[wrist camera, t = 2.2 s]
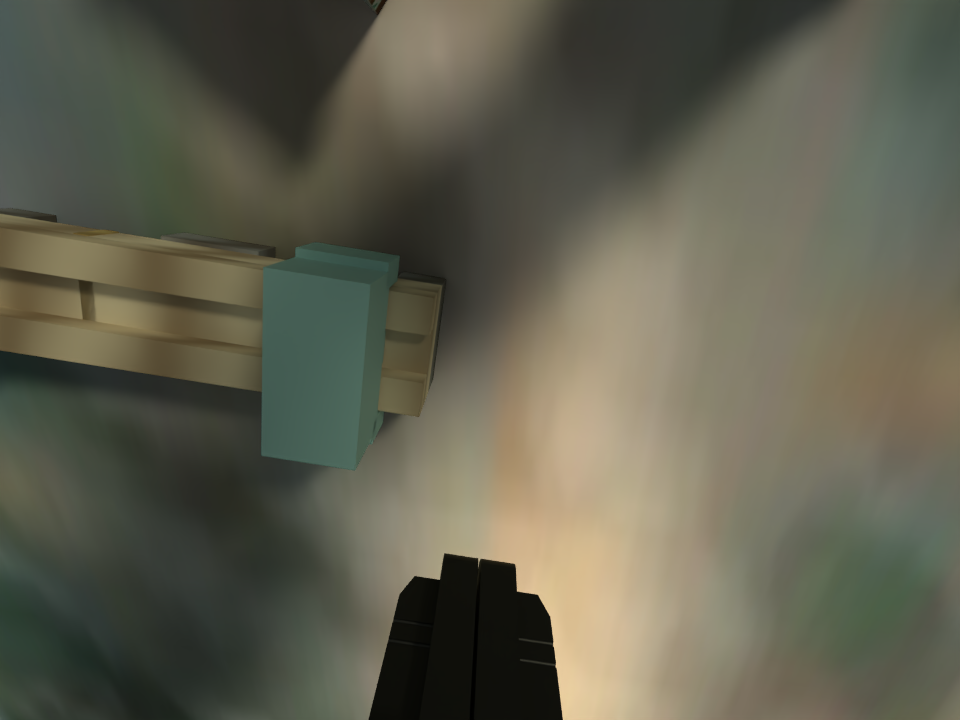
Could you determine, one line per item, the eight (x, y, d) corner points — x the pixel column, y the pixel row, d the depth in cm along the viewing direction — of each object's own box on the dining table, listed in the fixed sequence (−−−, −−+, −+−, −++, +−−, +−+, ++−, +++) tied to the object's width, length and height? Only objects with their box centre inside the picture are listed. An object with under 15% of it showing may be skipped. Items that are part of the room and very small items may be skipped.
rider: (399, 255, 23) (371, 274, 18) (383, 422, 26) (354, 478, 21) (315, 242, 23) (263, 256, 18) (308, 410, 26) (261, 463, 21)
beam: (446, 275, 27) (431, 299, 21) (432, 382, 29) (414, 431, 23) (11, 204, 27) (-131, 208, 21) (28, 317, 29) (-97, 350, 23)
